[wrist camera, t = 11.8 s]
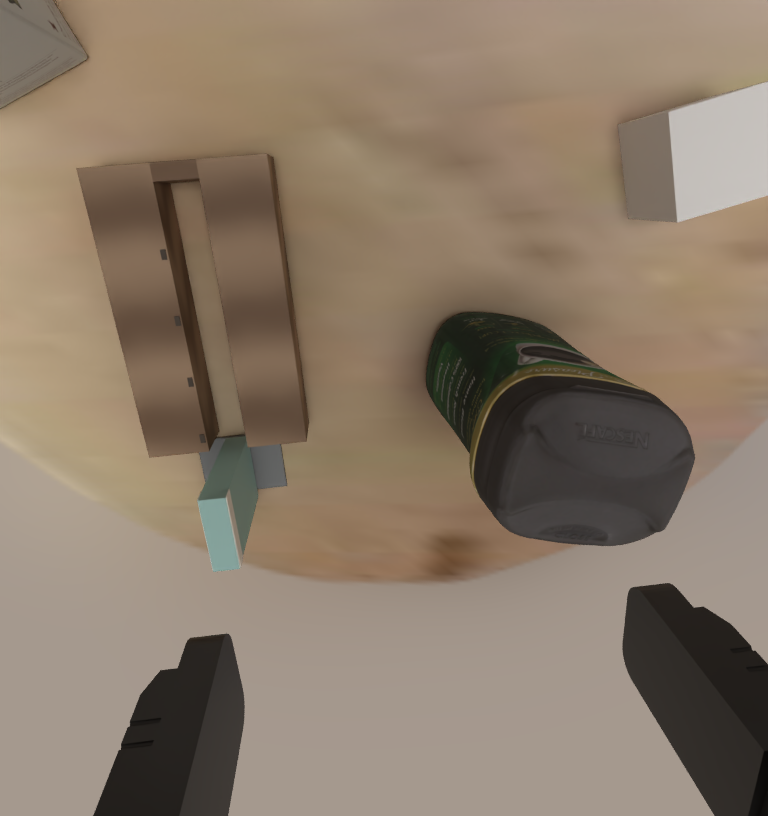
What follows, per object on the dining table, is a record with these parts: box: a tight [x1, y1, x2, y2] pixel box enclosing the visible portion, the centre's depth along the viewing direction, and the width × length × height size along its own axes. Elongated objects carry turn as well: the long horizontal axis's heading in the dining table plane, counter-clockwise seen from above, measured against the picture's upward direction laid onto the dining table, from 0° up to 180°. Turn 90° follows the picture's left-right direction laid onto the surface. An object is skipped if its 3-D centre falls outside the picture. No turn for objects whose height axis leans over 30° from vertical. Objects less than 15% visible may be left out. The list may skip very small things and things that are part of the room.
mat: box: [199, 435, 287, 489], centre depth 42 cm, size 4×6×1 cm
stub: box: [197, 436, 258, 572], centre depth 38 cm, size 5×2×9 cm, turn 5°
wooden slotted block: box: [76, 154, 309, 458], centre depth 36 cm, size 18×11×4 cm, turn 5°
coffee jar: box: [426, 312, 695, 546], centre depth 32 cm, size 10×8×19 cm
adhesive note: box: [618, 81, 768, 222], centre depth 34 cm, size 6×6×6 cm
